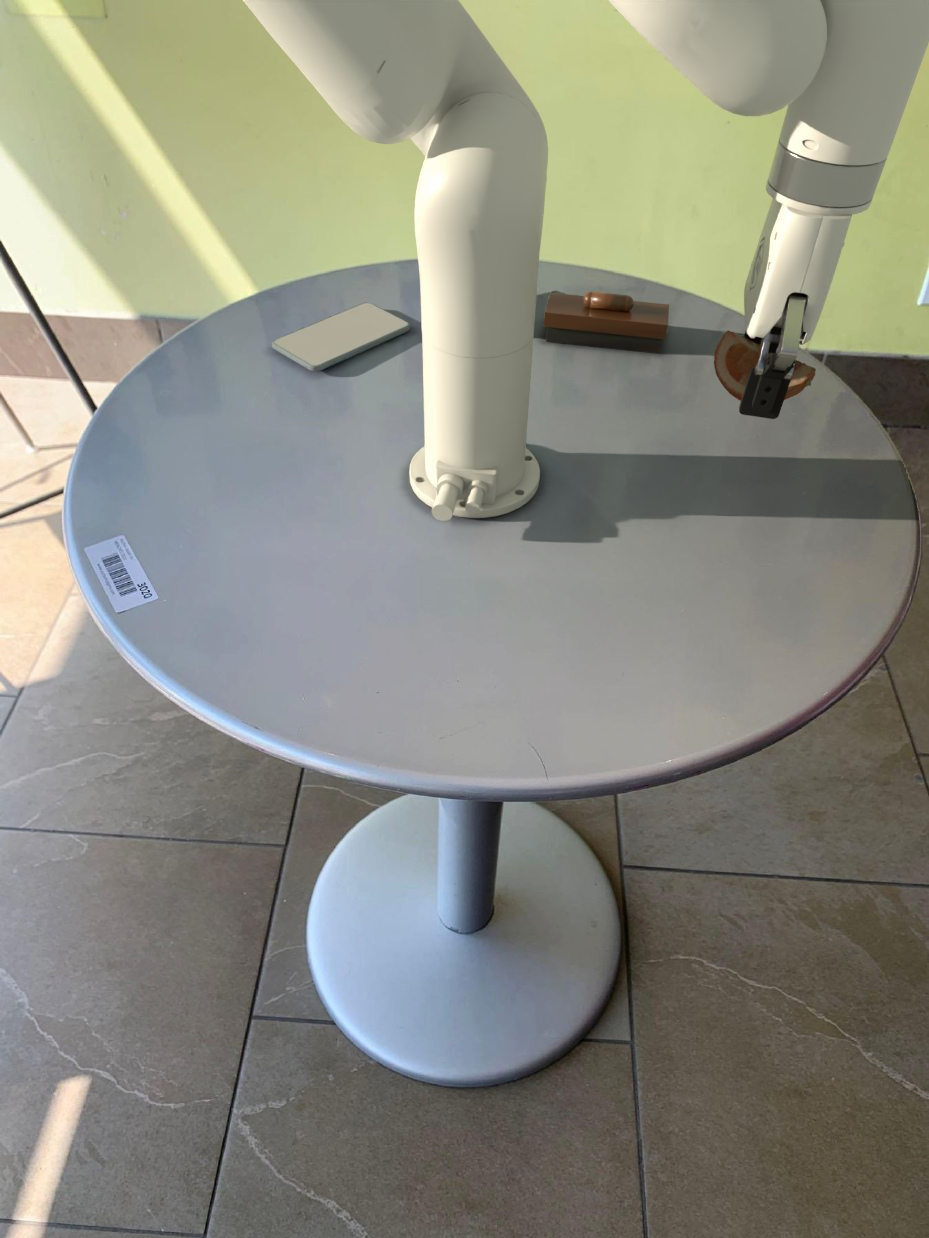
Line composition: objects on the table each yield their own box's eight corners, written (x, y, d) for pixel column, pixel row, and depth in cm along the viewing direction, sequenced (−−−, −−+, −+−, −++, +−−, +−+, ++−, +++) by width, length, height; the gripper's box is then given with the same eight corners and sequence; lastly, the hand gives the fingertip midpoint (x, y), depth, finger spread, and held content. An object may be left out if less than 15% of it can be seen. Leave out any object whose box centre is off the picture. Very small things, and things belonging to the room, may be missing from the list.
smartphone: (413, 324, 107) (314, 368, 100) (413, 331, 108) (314, 376, 100) (366, 300, 111) (267, 341, 104) (367, 307, 112) (269, 349, 104)
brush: (662, 355, 105) (670, 310, 101) (542, 342, 106) (545, 298, 102) (663, 334, 108) (671, 290, 104) (547, 322, 110) (551, 278, 106)
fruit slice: (813, 405, 79) (833, 353, 75) (776, 436, 75) (795, 383, 71) (730, 368, 82) (745, 317, 79) (690, 396, 79) (704, 343, 75)
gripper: (766, 129, 72) (712, 334, 84) (776, 215, 60) (711, 439, 72) (864, 140, 71) (794, 345, 84) (893, 229, 59) (807, 453, 72)
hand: (756, 388), depth 78 cm, fingers closed on fruit slice, 7 cm apart
